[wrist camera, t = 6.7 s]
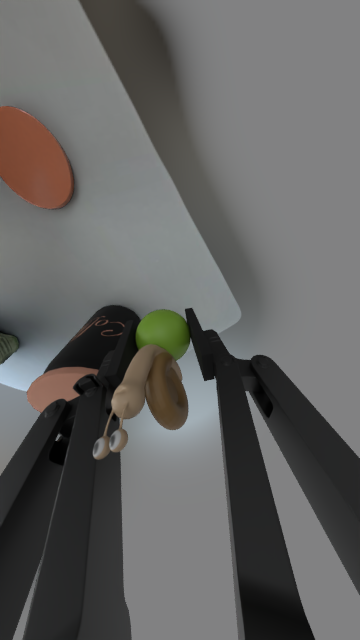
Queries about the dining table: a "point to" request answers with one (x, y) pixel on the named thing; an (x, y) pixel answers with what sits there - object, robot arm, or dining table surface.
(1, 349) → the pouch
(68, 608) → the robot arm
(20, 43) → the dining table surface
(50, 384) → the coffee jar
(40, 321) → the dining table surface
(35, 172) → the terracotta coaster
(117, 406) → the snail figurine
